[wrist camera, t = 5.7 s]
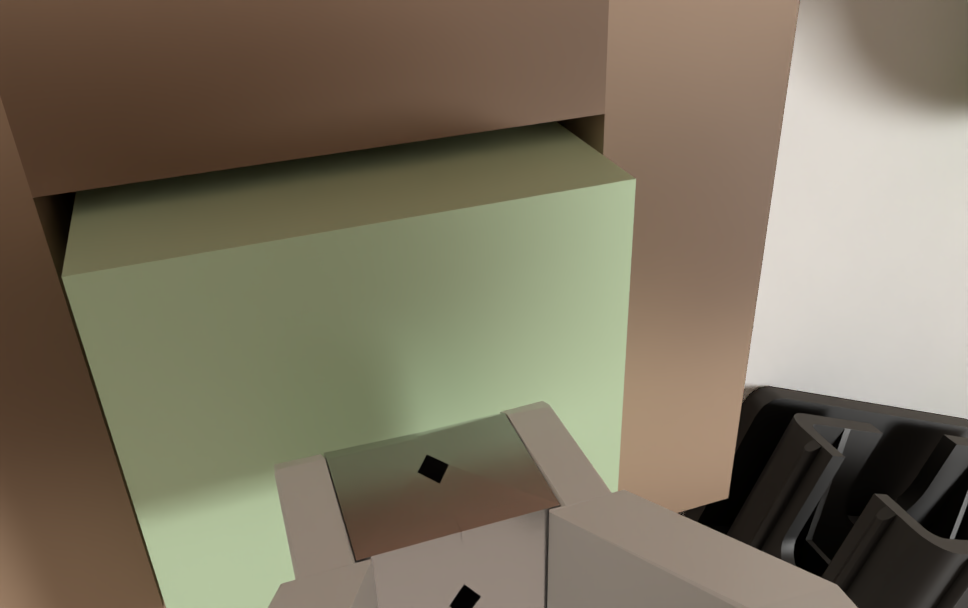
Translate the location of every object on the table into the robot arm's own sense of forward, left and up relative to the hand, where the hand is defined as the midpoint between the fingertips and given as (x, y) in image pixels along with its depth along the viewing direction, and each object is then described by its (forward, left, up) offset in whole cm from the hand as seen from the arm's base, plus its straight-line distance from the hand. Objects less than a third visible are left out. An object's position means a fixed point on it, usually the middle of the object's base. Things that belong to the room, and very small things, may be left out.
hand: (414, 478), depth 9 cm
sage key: (0, 0, -5) cm, 5 cm away
